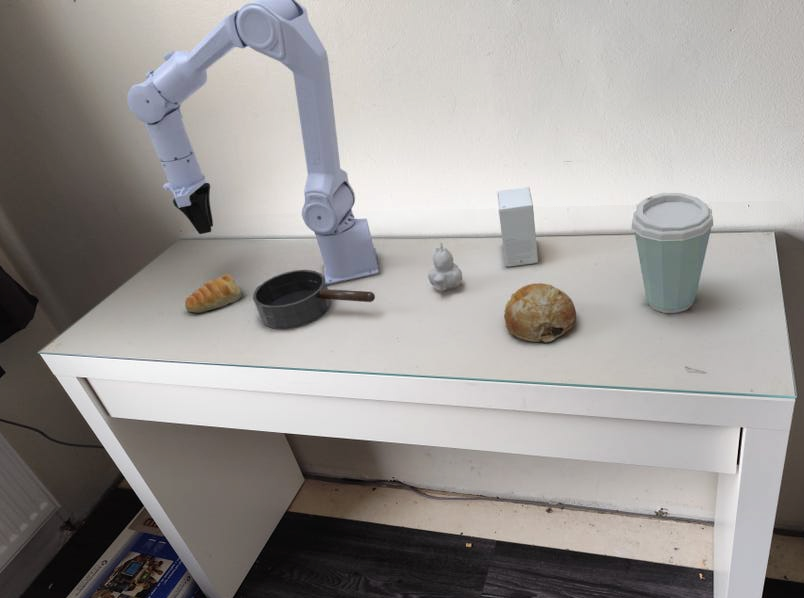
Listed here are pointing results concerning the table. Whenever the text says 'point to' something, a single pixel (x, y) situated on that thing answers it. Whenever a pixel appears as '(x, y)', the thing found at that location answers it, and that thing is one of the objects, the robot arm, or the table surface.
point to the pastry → (214, 295)
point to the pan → (291, 299)
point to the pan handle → (346, 295)
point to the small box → (517, 226)
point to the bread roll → (539, 313)
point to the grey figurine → (444, 270)
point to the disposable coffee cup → (671, 248)
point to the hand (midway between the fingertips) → (206, 229)
